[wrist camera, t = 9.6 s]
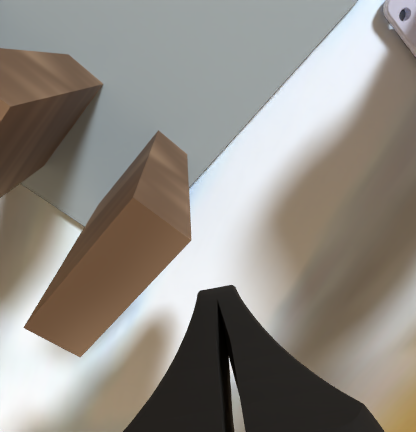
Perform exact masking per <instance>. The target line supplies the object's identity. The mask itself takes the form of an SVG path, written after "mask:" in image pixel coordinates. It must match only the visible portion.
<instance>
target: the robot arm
mask: <svg viewBox="0 0 416 432" xmlns="http://www.w3.org/2000/svg"><path fill="white" fill-rule="evenodd" d="M402 9H403V10H405V13H406V15H405V18H404V20H403V21H401V20H400V18H399V14H400V12H401V10H402ZM383 13H384V15H385V17H386V18H387V20H388V21H389V22H390V24H391V25H392V26H393V28H394V29H395V30H396V32H397V33H398V34H399V36H400V37H401V38H402V40H403V41H404V42H405V44H406V45H407V47H408V48H409V49H410V51H411V52H412V53H413V55H414V56H415V57H416V0H386V1H385V3H384V6H383ZM229 358H230V362H231V366H232V370H233V373H234V377H235V381H236V385H237V388H238V392H239V396H240V400H241V406H242V412H243V418H244V424H245V431H246V432H384V430H383V429H382V427H381V426H380V425H379V423H378V422H377V420H376V419H375V418H374V416H373V415H372V414H371V413H370V411H369V410H368V409H367V408H366V406H365V405H364V404H363V403H361V402H359V401H357V400H355V399H354V398H352V397H350V396H348V395H347V394H345V393H343V392H341V391H340V390H338V389H336V388H335V387H333V386H332V385H330V384H329V383H327V382H326V381H324V380H323V379H321V378H320V377H318V376H317V375H316V374H314V373H313V372H312V371H310V370H309V369H308V368H306V367H305V366H304V365H302V364H301V363H300V362H299V361H297V360H296V359H295V358H294V357H293V356H291V355H290V354H289V353H288V352H287V351H286V350H285V349H284V348H283V347H281V346H280V345H279V344H278V343H277V342H276V341H275V340H274V339H273V338H272V337H271V336H270V335H269V333H268V332H267V331H266V330H265V329H264V328H263V327H262V326H261V325H260V323H259V322H258V321H257V320H256V318H255V317H254V316H253V315H252V313H251V312H250V311H249V309H248V308H247V307H246V305H245V304H244V302H243V301H242V299H241V297H240V296H239V294H238V292H237V290H236V287H235V286H233V285H229V286H223V287H218V288H213V289H207V290H202V291H200V292H199V293H198V295H197V301H196V305H195V308H194V312H193V315H192V318H191V321H190V323H189V326H188V329H187V332H186V334H185V336H184V339H183V341H182V343H181V345H180V347H179V350H178V352H177V354H176V356H175V358H174V360H173V362H172V363H171V365H170V367H169V369H168V370H167V372H166V374H165V376H164V377H163V379H162V380H161V382H160V383H159V385H158V387H157V388H156V390H155V391H154V393H153V394H152V395H151V397H150V398H149V400H148V401H147V402H146V404H145V405H144V406H143V407H142V409H141V410H140V411H139V413H138V414H137V415H136V417H135V418H134V419H133V420H132V422H131V423H130V424H129V425H128V426H127V428H126V429H125V430H124V431H123V432H234V425H233V415H232V401H231V385H230V369H229Z"/></svg>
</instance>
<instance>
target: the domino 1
mask: <svg viewBox="0 0 416 432" xmlns="http://www.w3.org/2000/svg"><path fill="white" fill-rule="evenodd" d="M102 85H103V83H102V82H101V81H99V80H98V79H97V78H96V77H95V76H94V75H92V74H91V73H90V72H89V71H88V70H86V69H85V68H84V67H83V66H82V65H81V64H79V63H78V62H77V61H76V60H75V59H73V58H72V57H71V56H70V55H69V54H59V53H49V52H38V51H27V50H16V49H5V48H0V198H1V197H2V196H3V195H5V194H6V193H8V192H9V191H10V190H12V189H13V188H14V187H16V186H17V185H19V184H20V183H21V182H23V181H24V180H25V179H27V178H28V177H30V176H31V175H32V174H34V173H35V172H36V171H38V170H39V169H41V168H42V167H43V166H44V165H45V164H46V162H47V161H48V160H49V158H50V157H51V156H52V154H53V153H54V151H55V150H56V149H57V147H58V146H59V145H60V143H61V142H62V140H63V139H64V138H65V136H66V135H67V134H68V132H69V131H70V129H71V128H72V127H73V125H74V124H75V123H76V121H77V120H78V118H79V117H80V116H81V114H82V113H83V112H84V110H85V109H86V107H87V106H88V105H89V103H90V102H91V101H92V99H93V98H94V96H95V95H96V94H97V92H98V91H99V90H100V88H101V87H102Z"/></svg>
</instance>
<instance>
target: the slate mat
mask: <svg viewBox="0 0 416 432" xmlns="http://www.w3.org/2000/svg"><path fill="white" fill-rule="evenodd" d="M357 1H358V0H0V48H5V49H16V50H27V51H38V52H49V53H59V54H69V55H70V56H71V57H72V58H73V59H75V60H76V61H77V62H78V63H79V64H81V65H82V66H83V67H84V68H85V69H86V70H88V71H89V72H90V73H91V74H92V75H94V76H95V77H96V78H97V79H98V80H99V81H101V82H102V83H103V85H102V87H101V88H100V90H99V91H98V92H97V94H96V95H95V96H94V98H93V99H92V101H91V102H90V103H89V105H88V106H87V107H86V109H85V110H84V112H83V113H82V114H81V116H80V117H79V118H78V120H77V121H76V123H75V124H74V125H73V127H72V128H71V129H70V131H69V132H68V134H67V135H66V136H65V138H64V139H63V140H62V142H61V143H60V145H59V146H58V147H57V149H56V150H55V151H54V153H53V154H52V156H51V157H50V158H49V160H48V161H47V162H46V164H45V165H44V166H43V167H42V168H41V169H39V170H38V171H36V172H35V173H34V174H32V175H31V176H30V177H28V178H27V179H25V180H24V181H23V182H21V183H20V184H22V185H23V186H25V187H26V188H28V189H29V190H31V191H32V192H34V193H35V194H37V195H38V196H40V197H41V198H43V199H44V200H46V201H47V202H49V203H50V204H52V205H53V206H55V207H56V208H57V209H59V210H60V211H62V212H63V213H65V214H66V215H68V216H69V217H71V218H72V219H74V220H75V221H77V222H78V223H80V224H81V225H83V226H84V227H85V226H86V224H87V222H88V221H89V219H90V217H91V216H92V214H93V212H94V211H95V209H96V208H97V206H98V204H99V203H100V202H101V201H102V199H103V198H104V197H105V196H106V194H107V193H108V192H109V191H110V189H111V188H112V187H113V186H114V185H115V183H116V182H117V181H118V180H119V178H120V177H121V176H122V175H123V173H124V172H125V171H126V170H127V168H128V167H129V166H130V165H131V163H132V162H133V161H134V160H135V159H136V157H137V156H138V155H139V154H140V152H141V151H142V150H143V149H144V147H145V146H146V145H147V144H148V142H149V141H150V140H151V139H152V137H153V136H154V135H155V134H156V133H157V131H158V130H159V131H160V132H161V133H162V134H164V135H165V136H166V137H167V138H168V139H170V140H171V141H172V142H173V143H174V144H176V145H177V146H178V147H179V148H180V149H182V150H183V151H184V152H185V153H186V154H187V159H188V180H189V187H190V186H191V185H192V184H193V183H194V182H195V180H196V179H197V178H198V177H199V176H200V175H201V174H202V173H203V172H204V170H205V169H206V168H207V167H208V166H209V165H210V164H211V163H212V162H213V161H214V159H215V158H216V157H217V156H218V155H219V154H220V153H221V152H222V151H223V149H224V148H225V147H226V146H227V145H228V144H229V143H230V142H231V141H232V139H233V138H234V137H235V136H236V135H237V134H238V133H239V132H240V131H241V129H242V128H243V127H244V126H245V125H246V124H247V123H248V122H249V121H250V119H251V118H252V117H253V116H254V115H255V114H256V113H257V112H258V111H259V109H260V108H261V107H262V106H263V105H264V104H265V103H266V102H267V101H268V100H269V98H270V97H271V96H272V95H273V94H274V93H275V92H276V91H277V90H278V88H279V87H280V86H281V85H282V84H283V83H284V82H285V81H286V80H287V78H288V77H289V76H290V75H291V74H292V73H293V72H294V71H295V70H296V68H297V67H298V66H299V65H300V64H301V63H302V62H303V61H304V60H305V58H306V57H307V56H308V55H309V54H310V53H311V52H312V51H313V50H314V48H315V47H316V46H317V45H318V44H319V43H320V42H321V41H322V40H323V39H324V37H325V36H326V35H327V34H328V33H329V32H330V31H331V30H332V29H333V27H334V26H335V25H336V24H337V23H338V22H339V21H340V20H341V19H342V17H343V16H344V15H345V14H346V13H347V12H348V11H349V10H350V9H351V7H352V6H353V5H354V4H355V3H356V2H357Z"/></svg>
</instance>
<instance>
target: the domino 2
mask: <svg viewBox="0 0 416 432" xmlns="http://www.w3.org/2000/svg"><path fill="white" fill-rule="evenodd" d="M190 241H191V222H190V201H189V180H188V159H187V154H186V153H185V152H184V151H183V150H182V149H180V148H179V147H178V146H177V145H176V144H174V143H173V142H172V141H171V140H170V139H168V138H167V137H166V136H165V135H164V134H162V133H161V132H160V131H159V130H158V131H157V133H156V134H155V135H154V136H153V137H152V139H151V140H150V141H149V142H148V144H147V145H146V146H145V147H144V149H143V150H142V151H141V152H140V154H139V155H138V156H137V157H136V159H135V160H134V161H133V162H132V163H131V165H130V166H129V167H128V168H127V170H126V171H125V172H124V173H123V175H122V176H121V177H120V178H119V180H118V181H117V182H116V183H115V185H114V186H113V187H112V188H111V189H110V191H109V192H108V193H107V194H106V196H105V197H104V198H103V199H102V201H101V202H100V203H99V204H98V206H97V208H96V209H95V211H94V212H93V214H92V216H91V217H90V219H89V221H88V222H87V224H86V226H85V227H84V229H83V231H82V232H81V234H80V236H79V237H78V239H77V241H76V242H75V244H74V245H73V247H72V249H71V250H70V252H69V254H68V255H67V257H66V259H65V260H64V262H63V264H62V265H61V267H60V269H59V270H58V272H57V274H56V275H55V277H54V278H53V280H52V282H51V283H50V285H49V287H48V288H47V290H46V292H45V293H44V295H43V297H42V298H41V300H40V302H39V303H38V305H37V306H36V308H35V310H34V311H33V313H32V315H31V316H30V318H29V320H28V321H27V323H26V325H25V326H24V328H25V329H27V330H29V331H31V332H33V333H34V334H36V335H38V336H40V337H42V338H44V339H46V340H48V341H50V342H52V343H54V344H56V345H57V346H59V347H61V348H63V349H65V350H67V351H69V352H71V353H73V354H75V355H77V356H79V357H81V356H82V355H83V354H84V353H85V352H86V351H87V350H88V349H89V348H90V347H91V346H92V345H93V344H94V342H95V341H96V340H97V339H98V338H99V337H100V336H101V335H102V334H103V333H104V332H105V331H106V330H107V329H108V328H109V327H110V326H111V325H112V323H113V322H114V321H115V320H116V319H117V318H118V317H119V316H120V315H121V314H122V313H123V312H124V311H125V310H126V309H127V308H128V307H129V306H130V304H131V303H132V302H133V301H134V300H135V299H136V298H137V297H138V296H139V295H140V294H141V293H142V292H143V291H144V290H145V289H146V288H147V287H148V285H149V284H150V283H151V282H152V281H153V280H154V279H155V278H156V277H157V276H158V275H159V274H160V273H161V272H162V271H163V270H164V269H165V267H166V266H167V265H168V264H169V263H170V262H171V261H172V260H173V259H174V258H175V257H176V256H177V255H178V254H179V253H180V252H181V251H182V250H183V248H184V247H185V246H186V245H187V244H188V243H189V242H190Z"/></svg>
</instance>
